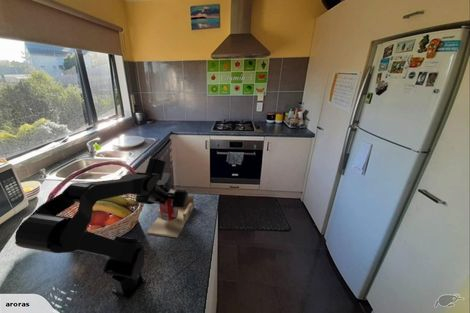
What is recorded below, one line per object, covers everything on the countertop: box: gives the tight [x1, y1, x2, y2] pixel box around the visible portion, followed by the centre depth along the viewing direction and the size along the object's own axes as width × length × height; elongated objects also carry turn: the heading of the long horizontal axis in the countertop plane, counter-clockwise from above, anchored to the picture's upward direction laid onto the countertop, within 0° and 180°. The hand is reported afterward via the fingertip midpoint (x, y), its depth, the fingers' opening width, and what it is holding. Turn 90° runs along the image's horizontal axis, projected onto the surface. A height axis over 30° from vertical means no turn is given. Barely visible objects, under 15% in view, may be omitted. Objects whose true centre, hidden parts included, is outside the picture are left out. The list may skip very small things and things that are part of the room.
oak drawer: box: [146, 194, 195, 238], centre depth 85 cm, size 19×12×7 cm, turn 172°
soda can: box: [158, 188, 178, 221], centre depth 81 cm, size 7×7×12 cm
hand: (170, 201), depth 82 cm, fingers closed on soda can, 7 cm apart
